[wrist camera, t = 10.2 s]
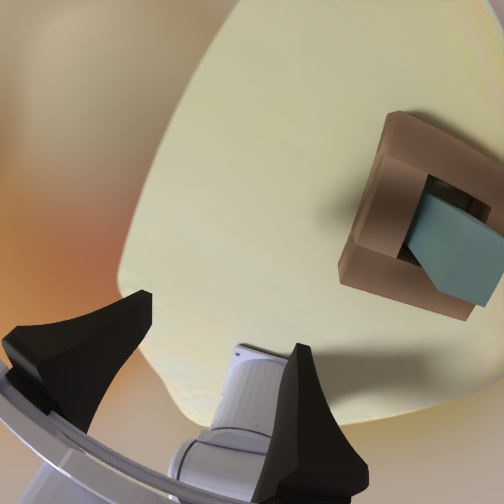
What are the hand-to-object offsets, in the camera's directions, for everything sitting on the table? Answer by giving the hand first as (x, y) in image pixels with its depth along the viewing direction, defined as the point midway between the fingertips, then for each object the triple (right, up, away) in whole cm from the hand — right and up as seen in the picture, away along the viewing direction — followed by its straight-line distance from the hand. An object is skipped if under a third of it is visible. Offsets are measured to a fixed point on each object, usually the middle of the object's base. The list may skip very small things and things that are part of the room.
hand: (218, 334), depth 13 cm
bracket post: (+15, +6, +5) cm, 17 cm away
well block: (+15, +6, +5) cm, 17 cm away
